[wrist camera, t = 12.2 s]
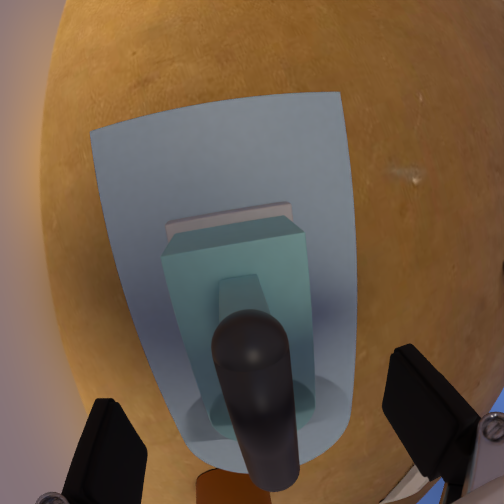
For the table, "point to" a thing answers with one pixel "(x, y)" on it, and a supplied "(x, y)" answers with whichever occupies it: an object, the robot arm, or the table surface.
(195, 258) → the iron
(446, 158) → the table surface
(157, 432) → the table surface
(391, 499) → the grooming comb
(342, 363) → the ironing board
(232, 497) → the brown cup
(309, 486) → the table surface
